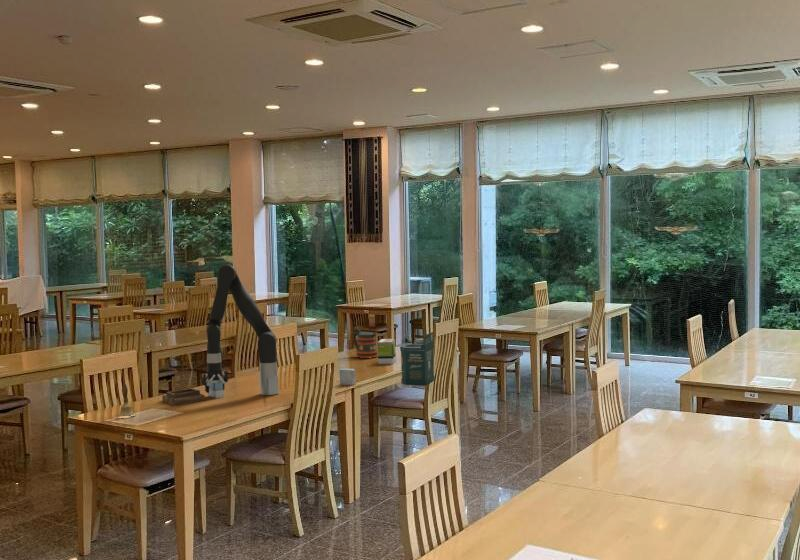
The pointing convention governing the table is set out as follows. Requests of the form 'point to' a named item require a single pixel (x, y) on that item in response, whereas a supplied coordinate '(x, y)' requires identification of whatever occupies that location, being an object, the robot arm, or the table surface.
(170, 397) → the walnut stand
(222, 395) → the housing
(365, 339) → the beer stein
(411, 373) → the donation box
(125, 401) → the hand bell
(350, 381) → the medicine box
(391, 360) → the tea box
